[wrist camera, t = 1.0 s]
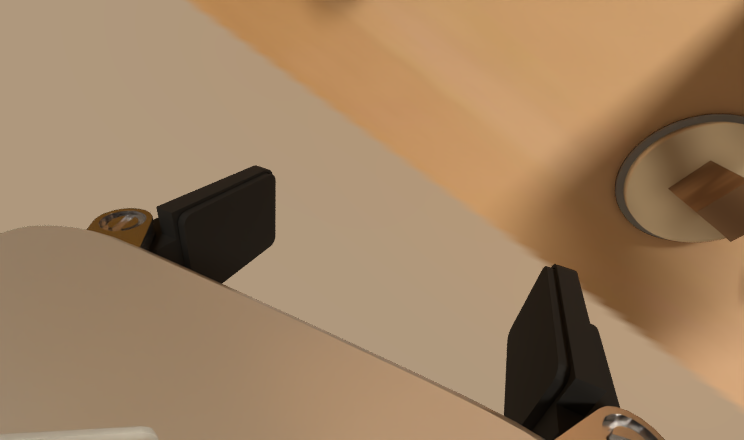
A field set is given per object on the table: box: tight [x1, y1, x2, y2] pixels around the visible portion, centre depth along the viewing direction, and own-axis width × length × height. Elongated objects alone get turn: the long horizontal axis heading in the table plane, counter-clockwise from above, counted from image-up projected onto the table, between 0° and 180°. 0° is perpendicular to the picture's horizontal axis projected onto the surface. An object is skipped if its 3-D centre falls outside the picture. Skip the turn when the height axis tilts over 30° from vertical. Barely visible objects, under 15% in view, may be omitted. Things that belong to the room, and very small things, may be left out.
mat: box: [615, 114, 744, 240], centre depth 28 cm, size 11×11×1 cm
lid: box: [623, 122, 744, 243], centre depth 25 cm, size 10×10×6 cm
